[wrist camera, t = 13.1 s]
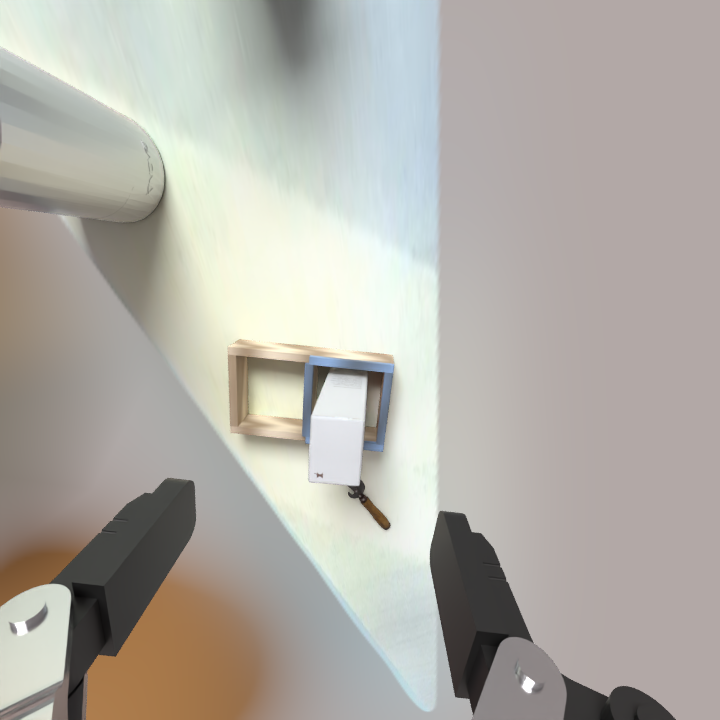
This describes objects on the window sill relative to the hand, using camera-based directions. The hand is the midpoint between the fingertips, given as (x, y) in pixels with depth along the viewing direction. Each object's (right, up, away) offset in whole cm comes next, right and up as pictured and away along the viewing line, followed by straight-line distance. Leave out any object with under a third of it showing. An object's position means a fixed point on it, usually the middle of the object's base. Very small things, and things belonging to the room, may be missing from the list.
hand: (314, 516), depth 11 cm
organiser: (-4, +2, +26) cm, 26 cm away
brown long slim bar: (+3, -12, +31) cm, 33 cm away
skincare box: (0, +2, +26) cm, 26 cm away
